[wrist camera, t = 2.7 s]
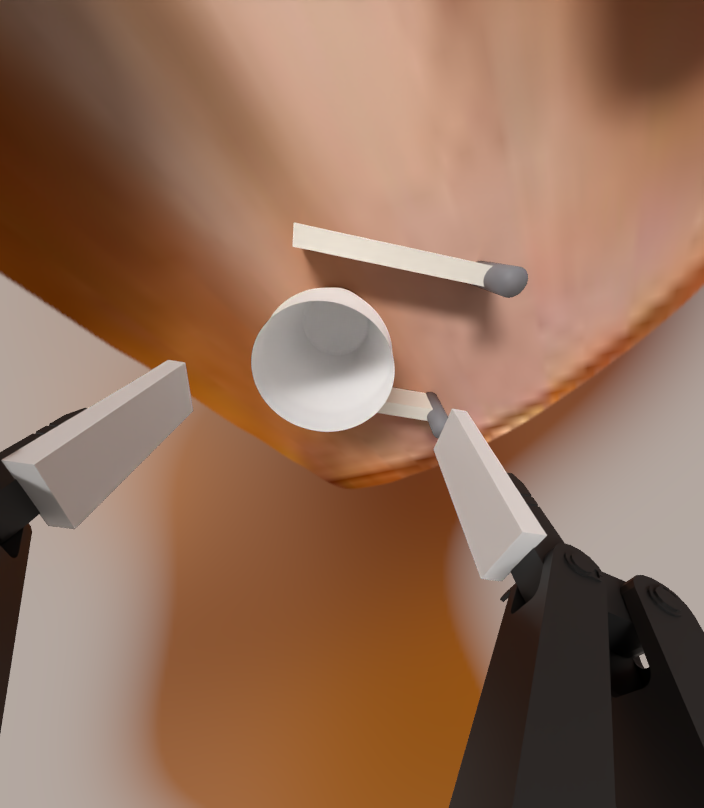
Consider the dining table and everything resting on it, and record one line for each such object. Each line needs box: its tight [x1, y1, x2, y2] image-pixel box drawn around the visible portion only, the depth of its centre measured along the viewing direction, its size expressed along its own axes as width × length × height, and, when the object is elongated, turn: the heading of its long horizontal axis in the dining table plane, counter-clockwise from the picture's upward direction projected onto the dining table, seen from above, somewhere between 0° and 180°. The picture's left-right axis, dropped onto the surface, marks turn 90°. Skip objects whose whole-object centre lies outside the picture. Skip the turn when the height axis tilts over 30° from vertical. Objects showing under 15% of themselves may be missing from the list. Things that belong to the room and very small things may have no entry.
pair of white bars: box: [293, 223, 528, 438], centre depth 24 cm, size 17×16×6 cm
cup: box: [251, 288, 395, 432], centre depth 21 cm, size 9×9×12 cm
